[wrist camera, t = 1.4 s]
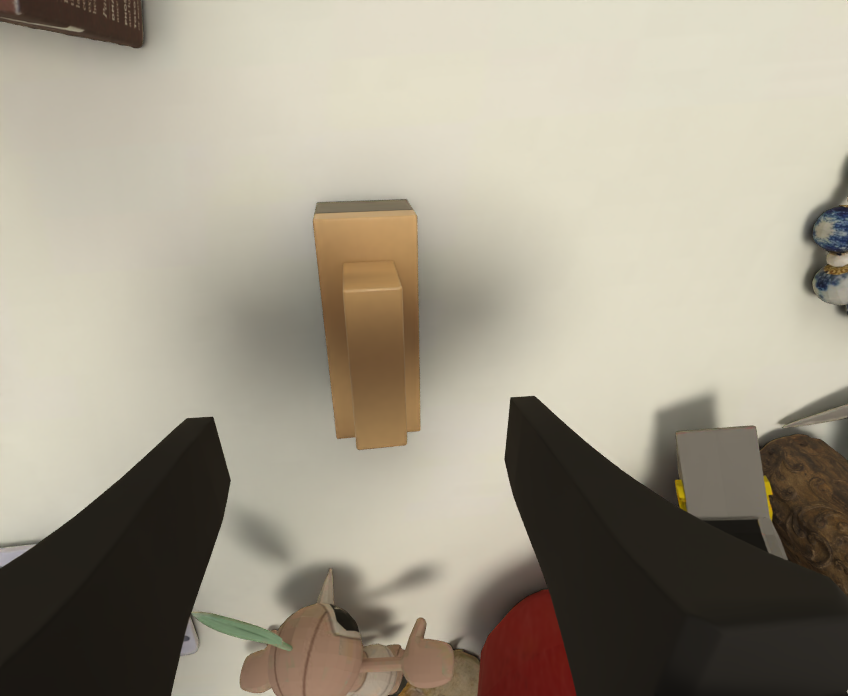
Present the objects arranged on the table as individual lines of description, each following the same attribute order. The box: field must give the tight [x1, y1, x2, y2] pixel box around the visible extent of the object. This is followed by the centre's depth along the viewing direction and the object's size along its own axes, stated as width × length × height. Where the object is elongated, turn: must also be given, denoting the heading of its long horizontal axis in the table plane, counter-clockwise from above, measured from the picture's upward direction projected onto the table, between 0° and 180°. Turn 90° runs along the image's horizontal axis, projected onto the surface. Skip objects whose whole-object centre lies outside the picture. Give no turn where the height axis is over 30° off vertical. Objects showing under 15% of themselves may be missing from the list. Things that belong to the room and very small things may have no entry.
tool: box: [675, 425, 788, 560], centre depth 25 cm, size 5×25×15 cm, turn 19°
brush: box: [313, 199, 420, 450], centre depth 19 cm, size 9×4×6 cm, turn 0°
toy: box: [191, 569, 454, 696], centre depth 25 cm, size 13×7×15 cm
